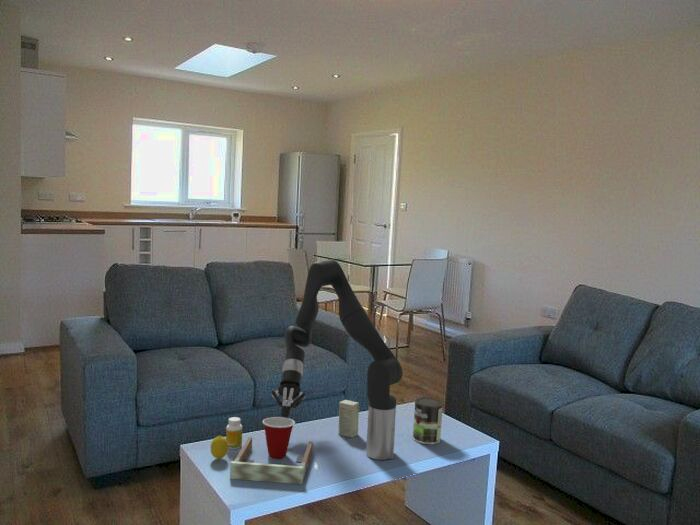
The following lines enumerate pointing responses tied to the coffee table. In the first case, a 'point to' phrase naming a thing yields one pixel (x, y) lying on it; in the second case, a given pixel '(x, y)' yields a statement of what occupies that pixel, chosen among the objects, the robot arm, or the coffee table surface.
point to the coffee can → (427, 420)
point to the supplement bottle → (234, 433)
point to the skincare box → (348, 418)
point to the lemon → (219, 447)
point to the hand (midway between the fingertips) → (284, 417)
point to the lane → (268, 468)
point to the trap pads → (299, 460)
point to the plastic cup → (278, 435)
